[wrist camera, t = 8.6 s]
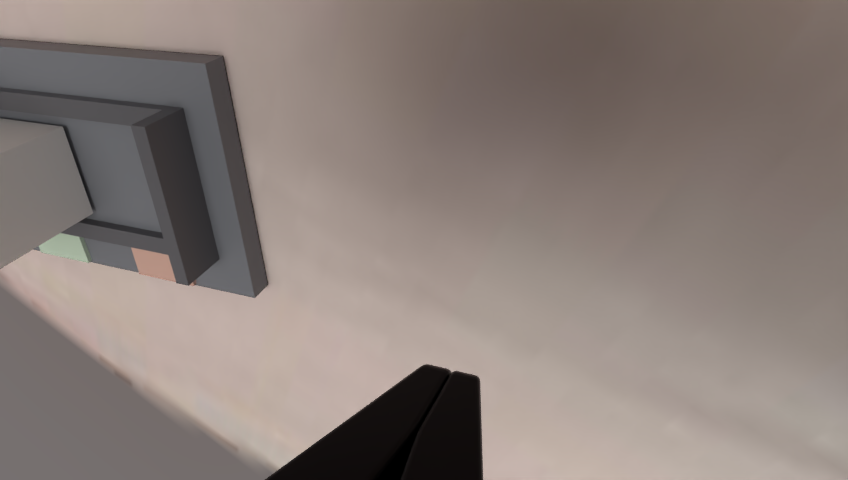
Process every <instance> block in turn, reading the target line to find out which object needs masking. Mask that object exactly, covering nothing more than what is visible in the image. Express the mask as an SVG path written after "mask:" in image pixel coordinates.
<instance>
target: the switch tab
mask: <svg viewBox="0 0 848 480" xmlns="http://www.w3.org/2000/svg"><path fill="white" fill-rule="evenodd" d="M91 214H93V211H92V208H91V205H90V202H89V200H88V197H87V194H86V191H85V188H84V185H83V183H82V180H81V177H80V174H79V171H78V168H77V166H76V163H75V160H74V157H73V154H72V151H71V149H70V146H69V143H68V140H67V137H66V134H65V131H64V129H63V127H62V126H55V125H47V124H40V123H32V122H25V121H17V120H10V119H2V118H0V269H1V268H3V267H4V266H6V265H8V264H9V263H11V262H13V261H14V260H16V259H18V258H19V257H21V256H23V255H24V254H26V253H28V252H29V251H31V250H33V249H34V248H36V247H38V246H39V245H41V244H43V243H44V242H46V241H48V240H49V239H51V238H53V237H54V236H56V235H58V234H59V233H61V232H63V231H64V230H66V229H68V228H69V227H71V226H73V225H74V224H76V223H78V222H80V221H81V220H83V219H85V218H86V217H88V216H90V215H91Z"/></svg>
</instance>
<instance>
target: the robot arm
mask: <svg viewBox="0 0 848 480" xmlns="http://www.w3.org/2000/svg"><path fill="white" fill-rule="evenodd" d="M265 480H483V461H482V428H481V395H480V379H479V377H478V376H476V375H472V374H467V373H463V372H459V371H454V372H452V373H451V371H450V370H449V369H446V368H442V367H437V366H433V365H428V364H427V365H423V366H421V367H420V368H418V369H417V370H415V371H414V372H413V373H411V374H410V375H408V376H407V377H406V378H404V379H403V380H402V381H400V382H399V383H397V384H396V385H395V386H393V387H392V388H391V389H389V390H388V391H386V392H385V393H384V394H382V395H381V396H380V397H378V398H377V399H375V400H374V401H373V402H371V403H370V404H369V405H367V406H366V407H364V408H363V409H362V410H360V411H359V412H358V413H356V414H355V415H353V416H352V417H351V418H349V419H348V420H346V421H345V422H344V423H342V424H341V425H340V426H338V427H337V428H335V429H334V430H333V431H331V432H330V433H329V434H327V435H326V436H324V437H323V438H322V439H320V440H319V441H318V442H316V443H315V444H313V445H312V446H311V447H309V448H308V449H307V450H305V451H304V452H302V453H301V454H300V455H298V456H297V457H296V458H294V459H293V460H291V461H290V462H289V463H287V464H286V465H284V466H283V467H282V468H280V469H279V470H278V471H276V472H275V473H273V474H272V475H271V476H269V477H268V478H267V479H265Z"/></svg>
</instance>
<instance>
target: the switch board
mask: <svg viewBox="0 0 848 480" xmlns="http://www.w3.org/2000/svg"><path fill="white" fill-rule="evenodd" d="M0 118H2V119H10V120H17V121H25V122H32V123H40V124H47V125H55V126H62V127H63V129H64V131H65V134H66V137H67V140H68V143H69V146H70V149H71V151H72V154H73V157H74V160H75V163H76V166H77V168H78V171H79V174H80V177H81V180H82V183H83V185H84V188H85V191H86V194H87V197H88V200H89V202H90V205H91V208H92V211H93V214H91V215H90V216H88V217H86V218H85V219H83V220H81V221H80V222H78V223H76V224H74V225H73V226H71V227H69V228H68V229H66V230H64V231H63V232H61V233H59V234H58V235H56V236H54V237H53V238H51V239H49V240H48V241H46V242H44V243H43V244H41V245H39V246H38V247H36V248H34V250H38V251H41V252H42V253H46V254H51V255H55V256H60V257H64V258H69V259H73V260H78V261H83V262H87V263H89V262H93V263H98V264H102V265H107V266H111V267H116V268H121V269H125V270H130V271H134V272H139V274H142V275H146V276H151V277H155V278H160V279H164V280H169V281H174V282H176V283H179V284H183V285H188V286H189V285H192V286H194V285H198V286H203V287H207V288H212V289H217V290H221V291H226V292H230V293H235V294H239V295H244V296H249V297H253V298H255V297H256V296H257V295H258V294H259V293H260V292H261V291H262V290H263V289H264V288H265V287H266V286H267V285H268V284H267V279H266V274H265V268H264V263H263V258H262V253H261V248H260V243H259V238H258V233H257V228H256V223H255V218H254V213H253V207H252V202H251V197H250V192H249V187H248V182H247V177H246V172H245V167H244V162H243V157H242V152H241V146H240V141H239V136H238V131H237V126H236V121H235V116H234V111H233V106H232V101H231V96H230V91H229V85H228V80H227V75H226V70H225V65H224V60H223V56H214V55H201V54H189V53H176V52H163V51H150V50H137V49H125V48H112V47H99V46H86V45H73V44H61V43H48V42H35V41H22V40H9V39H0Z"/></svg>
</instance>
